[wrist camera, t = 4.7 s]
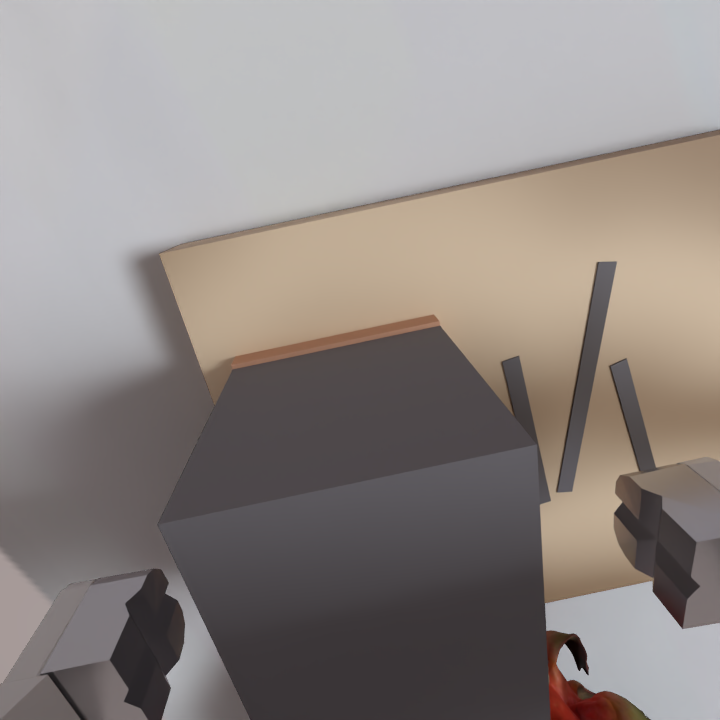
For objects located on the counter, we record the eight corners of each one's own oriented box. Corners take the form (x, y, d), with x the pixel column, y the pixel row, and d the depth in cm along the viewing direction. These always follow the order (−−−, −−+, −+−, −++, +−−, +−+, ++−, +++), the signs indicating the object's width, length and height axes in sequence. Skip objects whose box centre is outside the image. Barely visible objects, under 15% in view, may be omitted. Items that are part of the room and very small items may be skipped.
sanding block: (467, 558, 12) (553, 784, 8) (312, 591, 12) (306, 836, 8) (433, 314, 10) (536, 437, 5) (235, 356, 10) (154, 518, 5)
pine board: (692, 527, 15) (732, 564, 13) (306, 609, 15) (304, 654, 13) (740, 125, 10) (809, 115, 9) (181, 243, 10) (157, 254, 9)
